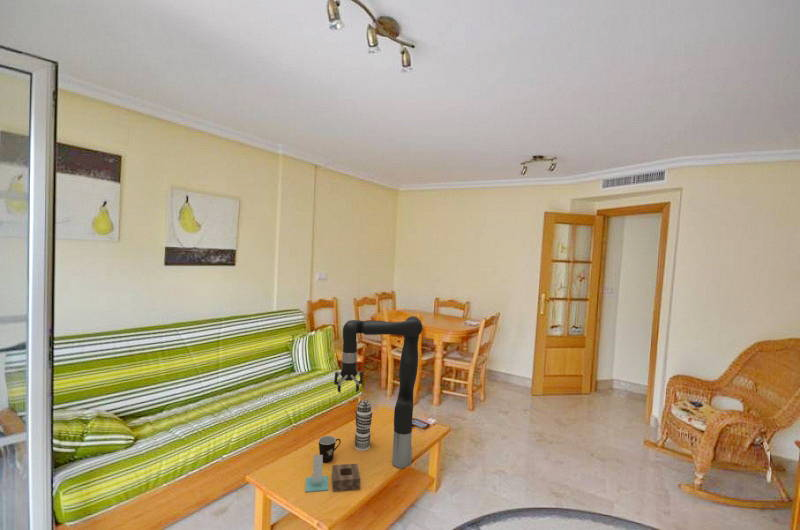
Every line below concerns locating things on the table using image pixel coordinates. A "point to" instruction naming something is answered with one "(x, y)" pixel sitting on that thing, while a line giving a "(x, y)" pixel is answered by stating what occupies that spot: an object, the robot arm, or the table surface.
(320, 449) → the coffee mug
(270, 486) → the table surface
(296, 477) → the table surface
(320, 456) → the steel peg
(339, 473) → the socket block
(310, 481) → the pad
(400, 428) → the robot arm
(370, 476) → the table surface
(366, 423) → the decorative candle
